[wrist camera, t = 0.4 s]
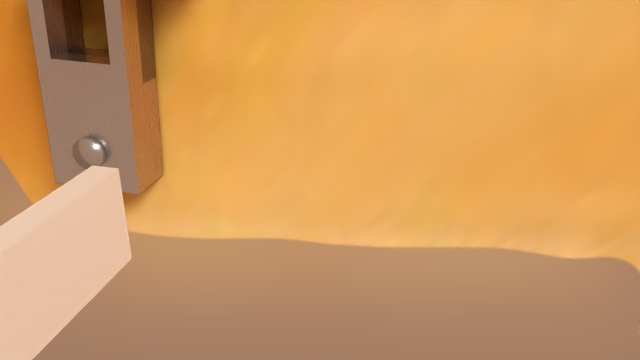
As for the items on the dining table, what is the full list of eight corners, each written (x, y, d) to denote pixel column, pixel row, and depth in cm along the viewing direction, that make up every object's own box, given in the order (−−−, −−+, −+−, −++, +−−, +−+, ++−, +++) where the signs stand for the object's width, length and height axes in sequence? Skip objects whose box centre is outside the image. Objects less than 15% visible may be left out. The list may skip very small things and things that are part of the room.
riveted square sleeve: (41, -171, 38) (-10, -182, 34) (137, -169, 37) (96, -181, 33) (85, 163, 48) (50, 185, 44) (163, 174, 47) (134, 198, 43)
